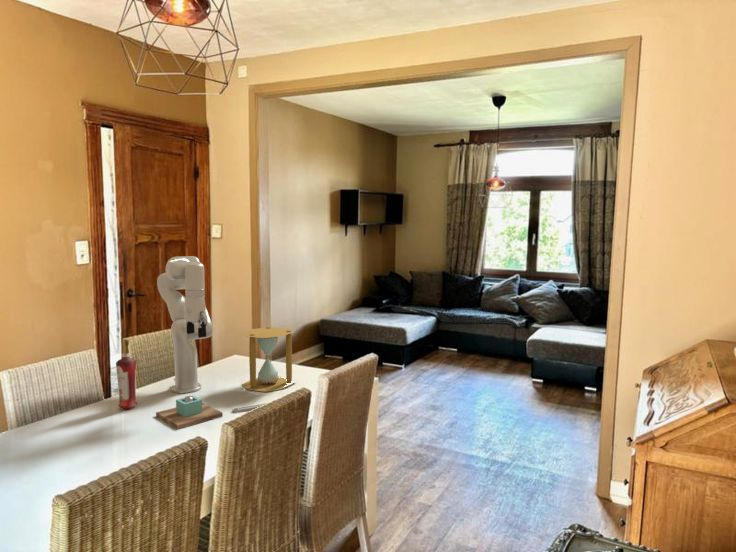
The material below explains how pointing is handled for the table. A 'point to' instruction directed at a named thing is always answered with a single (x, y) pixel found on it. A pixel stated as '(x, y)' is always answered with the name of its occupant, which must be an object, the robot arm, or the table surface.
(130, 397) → the liquor
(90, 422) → the table surface
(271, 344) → the hourglass
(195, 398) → the teal collar
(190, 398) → the steel post
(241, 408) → the adjustable wrench
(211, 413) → the walnut board
